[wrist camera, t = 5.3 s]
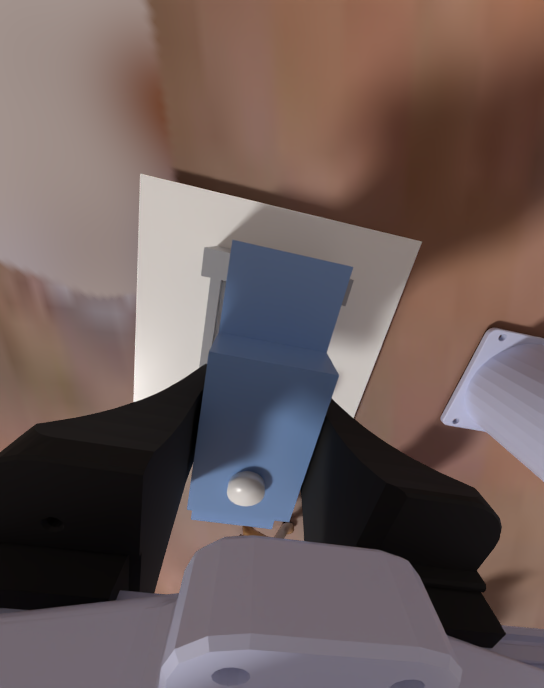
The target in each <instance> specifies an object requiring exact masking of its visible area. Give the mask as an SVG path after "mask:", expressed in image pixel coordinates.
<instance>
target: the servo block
mask: <svg viewBox="0 0 544 688" xmlns="http://www.w3.org/2000/svg"><path fill="white" fill-rule="evenodd" d="M352 270H353V267H351V266H347V265H343V264H339V263H334V262H330V261H325V260H321V259H317V258H312V257H308V256H303V255H299V254H294V253H290V252H286V251H281V250H277V249H272V248H268V247H263V246H259V245H255V244H250V243H246V242H241V241H237V240H232V246H231V253H230V260H229V266H228V273H227V280H226V287H225V293H224V300H223V307H222V314H221V320H220V327H219V333H218V334H217V336H216V338H215V340H214V342H213V344H212V346H211V348H210V350H209V354H208V361H207V368H206V376H205V383H204V390H203V397H202V405H201V412H200V419H199V426H198V434H197V441H196V448H195V455H194V463H193V470H192V477H191V484H190V492H189V499H188V506H187V510H192V516H191V520H200V521H208V522H216V523H225V524H233V525H241V526H250V527H258V528H266V529H272V527H273V523H274V520H275V521H283V522H289V521H290V518H291V515H292V512H293V509H294V506H295V503H296V501H297V498H298V495H299V492H300V489H301V486H302V483H303V480H304V477H305V474H306V471H307V468H308V465H309V463H310V460H311V457H312V454H313V451H314V448H315V445H316V442H317V439H318V436H319V433H320V430H321V427H322V424H323V422H324V419H325V416H326V413H327V410H328V407H329V404H330V401H331V398H332V395H333V392H334V389H335V386H336V384H337V381H338V378H339V374H338V372H337V370H336V369H335V367H334V365H333V363H332V361H331V359H330V358H329V356H328V354H327V350H328V347H329V344H330V341H331V337H332V334H333V331H334V328H335V325H336V321H337V318H338V315H339V312H340V308H341V305H342V302H343V299H344V296H345V292H346V289H347V286H348V283H349V280H350V276H351V273H352Z"/></svg>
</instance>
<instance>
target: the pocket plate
mask: <svg viewBox="0 0 544 688" xmlns="http://www.w3.org/2000/svg"><path fill="white" fill-rule="evenodd" d="M139 201H140V202H139V234H138V268H137V269H138V270H137V302H136V336H135V371H134V402H136V401H139V400H142V399H144V398H147V397H149V396H151V395H154V394H156V393H158V392H160V391H162V390H164V389H166V388H168V387H170V386H172V385H173V384H175V383H177V382H179V381H180V380H182V379H183V378H185V377H186V376H188V375H190V374H191V373H192V372H194V371H195V370H197V369H198V368H200V367H201V366H203V365H204V364H207V361H208V354H209V350H210V348H211V346H212V344H213V342H214V340H215V338H216V336H217V334H218V333H219V327H220V320H221V314H222V307H223V300H224V293H225V287H226V280H227V273H228V266H229V260H230V253H231V246H232V240H237V241H241V242H246V243H250V244H255V245H259V246H263V247H268V248H272V249H277V250H281V251H286V252H290V253H294V254H299V255H303V256H308V257H312V258H317V259H321V260H325V261H330V262H334V263H339V264H343V265H347V266H351V267H353V270H352V273H351V276H350V280H349V283H348V286H347V289H346V292H345V296H344V299H343V302H342V305H341V308H340V312H339V315H338V318H337V321H336V325H335V328H334V331H333V334H332V337H331V341H330V344H329V347H328V350H327V354H328V356H329V358H330V359H331V361H332V363H333V365H334V367H335V369H336V370H337V372H338V374H339V378H338V381H337V384H336V386H335V389H334V392H333V395H332V399H333V400H334V401H335V402H336V403H337V404H338V405H339V406H340V407H341V408H342V409H344V410H345V411H346V412H347V413H348V414H349V415H350V416H351V417H353V418H354V416H355V413H356V410H357V408H358V405H359V403H360V400H361V398H362V395H363V392H364V390H365V387H366V385H367V382H368V380H369V377H370V374H371V372H372V369H373V367H374V364H375V362H376V359H377V356H378V354H379V351H380V349H381V346H382V344H383V341H384V338H385V336H386V333H387V331H388V328H389V326H390V323H391V320H392V318H393V315H394V313H395V310H396V308H397V305H398V302H399V300H400V297H401V295H402V292H403V290H404V287H405V284H406V282H407V279H408V277H409V274H410V272H411V269H412V266H413V264H414V261H415V259H416V256H417V254H418V251H419V248H420V246H421V243H422V241H418V240H413V239H409V238H405V237H401V236H397V235H393V234H389V233H384V232H380V231H376V230H372V229H368V228H364V227H360V226H355V225H351V224H347V223H343V222H339V221H335V220H331V219H326V218H322V217H318V216H314V215H310V214H306V213H302V212H297V211H293V210H289V209H285V208H281V207H277V206H273V205H268V204H264V203H260V202H256V201H252V200H248V199H244V198H240V197H235V196H231V195H227V194H223V193H219V192H215V191H211V190H206V189H202V188H198V187H194V186H190V185H186V184H182V183H177V182H173V181H169V180H165V179H160V178H157V177H153V176H148V175H144V174H140V200H139Z"/></svg>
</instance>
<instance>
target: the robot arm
mask: <svg viewBox="0 0 544 688" xmlns="http://www.w3.org/2000/svg"><path fill="white" fill-rule="evenodd" d="M500 335H501V337H500V338H499V336H500ZM498 338H499V339H498ZM206 368H207V364H204V365H203V366H201V367H200V368H198V369H197V370H195V371H194V372H192V373H191V374H190V375H188V376H186V377H185V378H183V379H182V380H180V381H179V382H177V383H175V384H173V385H172V386H170V387H168V388H166V389H164V390H162V391H160V392H158V393H156V394H154V395H151V396H149V397H147V398H144V399H142V400H139V401H136V402H133V403H130V404H127V405H124V406H121V407H118V408H115V409H111V410H107V411H104V412H100V413H95V414H91V415H87V416H82V417H77V418H71V419H65V420H59V421H53V422H46V423H39V424H36V425H34V426H33V427H32V428H30V429H29V430H28V431H26V432H25V433H24V434H23V435H21V436H20V437H19V438H18V439H16V440H15V441H14V442H13V443H11V444H10V445H9V446H8V447H6V448H5V449H4V450H3V451H1V452H0V688H544V629H537V628H526V627H515V626H504V625H501V624H500V623H499V621H498V619H497V618H496V616H495V615H494V613H493V611H492V610H491V608H490V606H489V605H488V603H487V602H486V600H485V598H484V597H483V595H482V593H481V592H484V591H485V590H486V584H485V583H484V581H483V580H482V578H481V577H480V575H479V573H478V572H477V569H478V568H479V567H480V565H481V564H482V563H483V562H484V560H485V559H486V558H487V557H488V555H489V554H490V553H491V551H492V550H493V549H494V547H495V546H496V544H497V542H498V541H499V538H500V533H501V528H502V526H501V522H500V518H499V517H498V515H497V514H496V513H495V512H494V510H493V509H492V508H491V507H490V505H489V504H488V503H487V502H486V501H485V499H484V498H483V497H482V496H481V495H480V493H479V492H478V491H477V490H476V489H475V488H474V487H471V486H469V485H467V484H465V483H462V482H460V481H458V480H455V479H453V478H451V477H449V476H446V475H444V474H442V473H440V472H438V471H436V470H434V469H432V468H430V467H428V466H426V465H424V464H422V463H420V462H418V461H416V460H414V459H413V458H411V457H409V456H407V455H405V454H404V453H402V452H400V451H399V450H397V449H395V448H394V447H392V446H391V445H389V444H387V443H386V442H384V441H383V440H381V439H380V438H378V437H377V436H376V435H374V434H373V433H372V432H370V431H369V430H367V429H366V428H365V427H363V426H362V425H361V424H360V423H358V422H357V421H356V420H355V419H354V418H353V417H351V416H350V415H349V414H348V413H347V412H346V411H345V410H344V409H342V408H341V407H340V406H339V405H338V404H337V403H336V402H335V401H334V400H333V399H332V398H331V401H330V404H329V407H328V410H327V413H326V416H325V419H324V422H323V424H322V427H321V430H320V433H319V436H318V439H317V442H316V445H315V448H314V451H313V454H312V457H311V460H310V463H309V465H308V468H307V471H306V474H305V477H304V480H303V483H302V486H301V497H302V510H303V525H304V541H299V540H290V539H282V538H273V537H265V536H256V535H249V536H232V537H224V538H222V539H220V540H217V541H215V542H213V543H211V544H209V545H207V546H205V547H203V548H201V549H200V550H198V551H196V553H195V554H194V556H193V558H192V559H191V561H190V562H189V564H188V566H187V567H186V569H185V571H184V576H183V580H182V584H181V588H180V592H179V593H177V594H168V595H166V594H155V593H154V592H155V588H156V585H157V581H158V577H159V574H160V570H161V566H162V563H163V559H164V556H165V552H166V549H167V545H168V542H169V538H170V535H171V531H172V528H173V524H174V521H175V517H176V514H177V510H178V507H179V504H180V500H181V497H182V494H183V490H184V487H185V483H186V480H187V478H188V475H189V472H190V469H191V467H192V464H193V462H194V455H195V448H196V441H197V434H198V426H199V419H200V412H201V405H202V397H203V390H204V383H205V376H206ZM440 419H441V421H442V422H443V423H444V424H445V425H449V426H455V427H461V428H467V429H473V430H478V431H484V432H487V433H488V434H489V435H490V436H492V437H493V438H494V439H495V440H496V441H497V442H499V443H500V444H501V445H502V446H503V447H504V448H505V449H507V450H508V451H509V452H510V453H511V454H512V455H514V456H515V457H516V458H517V459H518V460H519V461H520V462H522V463H523V464H524V465H525V466H526V467H527V468H528V469H530V470H531V471H532V472H533V473H534V474H535V475H537V476H538V477H539V478H540V479H541V480H542V481H543V482H544V338H541V337H537V336H532V335H527V334H523V333H518V332H513V331H509V330H504V329H499V328H490V329H489V330H487V331H486V333H485V334H484V336H483V338H482V340H481V342H480V344H479V346H478V348H477V350H476V351H475V353H474V355H473V357H472V359H471V361H470V363H469V365H468V367H467V368H466V370H465V372H464V374H463V376H462V378H461V380H460V382H459V384H458V385H457V387H456V389H455V391H454V393H453V395H452V397H451V399H450V400H449V402H448V404H447V406H446V408H445V410H444V412H443V414H442V416H441V418H440ZM454 419H455V420H454Z"/></svg>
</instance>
